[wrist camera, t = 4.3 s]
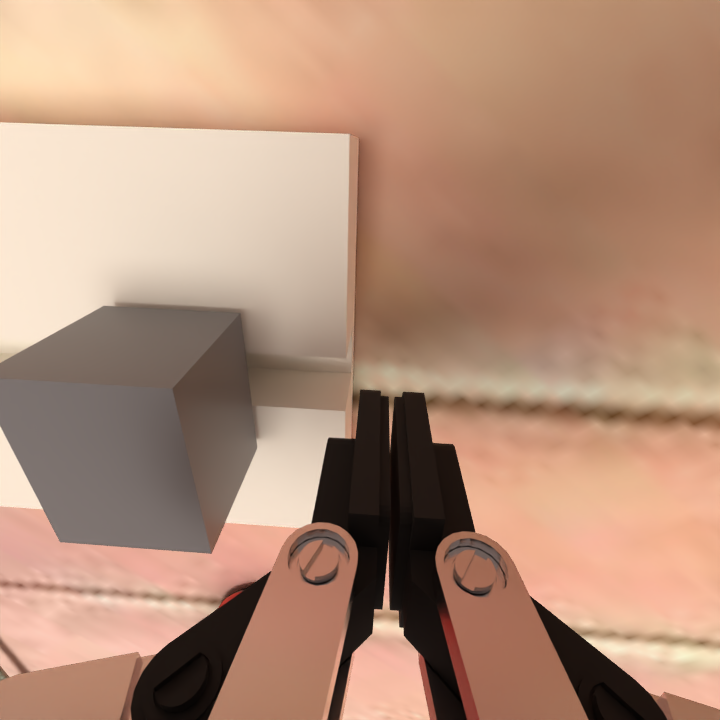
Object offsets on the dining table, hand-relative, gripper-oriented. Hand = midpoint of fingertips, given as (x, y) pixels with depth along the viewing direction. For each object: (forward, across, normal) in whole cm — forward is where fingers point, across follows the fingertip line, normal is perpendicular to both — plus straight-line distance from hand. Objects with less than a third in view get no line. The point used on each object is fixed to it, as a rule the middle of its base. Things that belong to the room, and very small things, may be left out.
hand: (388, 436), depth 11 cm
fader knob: (+4, +6, 0) cm, 8 cm away
